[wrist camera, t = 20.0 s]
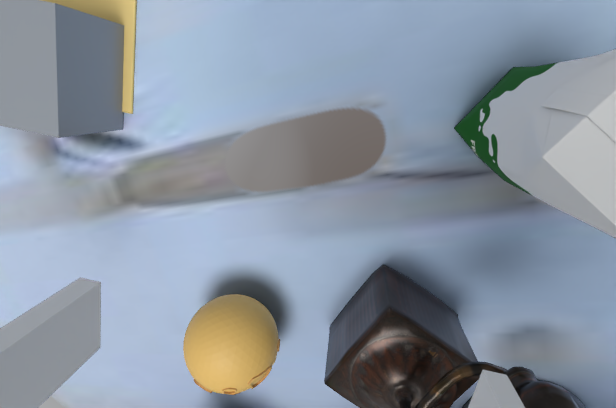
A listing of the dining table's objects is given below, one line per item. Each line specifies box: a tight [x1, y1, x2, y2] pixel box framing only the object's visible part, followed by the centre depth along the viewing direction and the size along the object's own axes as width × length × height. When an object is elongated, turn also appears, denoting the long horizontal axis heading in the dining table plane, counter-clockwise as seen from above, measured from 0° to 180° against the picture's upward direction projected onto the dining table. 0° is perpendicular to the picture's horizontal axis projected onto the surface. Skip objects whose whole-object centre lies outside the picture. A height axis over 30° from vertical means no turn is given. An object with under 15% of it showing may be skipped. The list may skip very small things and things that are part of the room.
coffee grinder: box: [324, 265, 579, 408], centre depth 32 cm, size 16×11×18 cm
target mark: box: [41, 0, 137, 114], centre depth 36 cm, size 12×12×1 cm
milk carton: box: [454, 49, 616, 238], centre depth 24 cm, size 9×9×20 cm
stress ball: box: [183, 294, 280, 395], centre depth 38 cm, size 10×10×10 cm
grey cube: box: [0, 0, 124, 138], centre depth 33 cm, size 10×10×9 cm
